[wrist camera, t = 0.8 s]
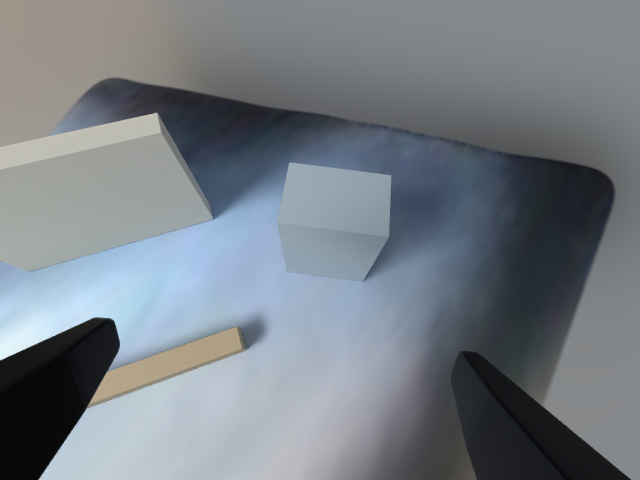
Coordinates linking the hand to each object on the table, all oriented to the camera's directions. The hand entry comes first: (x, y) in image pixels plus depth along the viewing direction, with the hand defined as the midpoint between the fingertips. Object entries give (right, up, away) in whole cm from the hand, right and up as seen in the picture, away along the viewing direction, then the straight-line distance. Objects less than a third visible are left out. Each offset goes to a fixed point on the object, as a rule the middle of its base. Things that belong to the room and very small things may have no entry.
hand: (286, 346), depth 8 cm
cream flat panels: (-13, -2, +14) cm, 20 cm away
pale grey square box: (+2, +2, +17) cm, 17 cm away
